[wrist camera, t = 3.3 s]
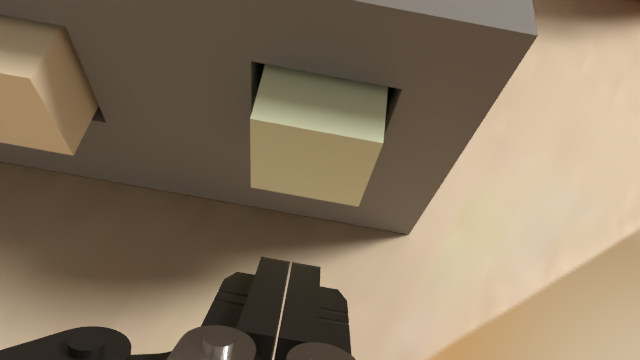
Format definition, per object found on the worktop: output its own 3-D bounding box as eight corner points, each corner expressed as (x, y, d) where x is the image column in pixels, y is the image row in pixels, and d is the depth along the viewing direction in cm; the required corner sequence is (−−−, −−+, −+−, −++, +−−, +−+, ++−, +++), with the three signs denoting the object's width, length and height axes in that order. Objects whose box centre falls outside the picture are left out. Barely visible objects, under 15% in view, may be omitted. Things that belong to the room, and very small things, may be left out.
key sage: (358, 206, 19) (383, 143, 15) (250, 187, 18) (250, 118, 15) (367, 125, 21) (390, 53, 17) (270, 108, 21) (274, 31, 17)
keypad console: (408, 234, 24) (588, -44, 11) (-30, 156, 24) (-378, -233, 11) (414, 113, 29) (549, -192, 15) (42, 44, 28) (-144, -333, 15)
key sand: (73, 155, 18) (29, 78, 15) (-38, 135, 18) (-110, 53, 15) (112, 78, 20) (82, -5, 17) (12, 60, 20) (-39, -28, 17)
